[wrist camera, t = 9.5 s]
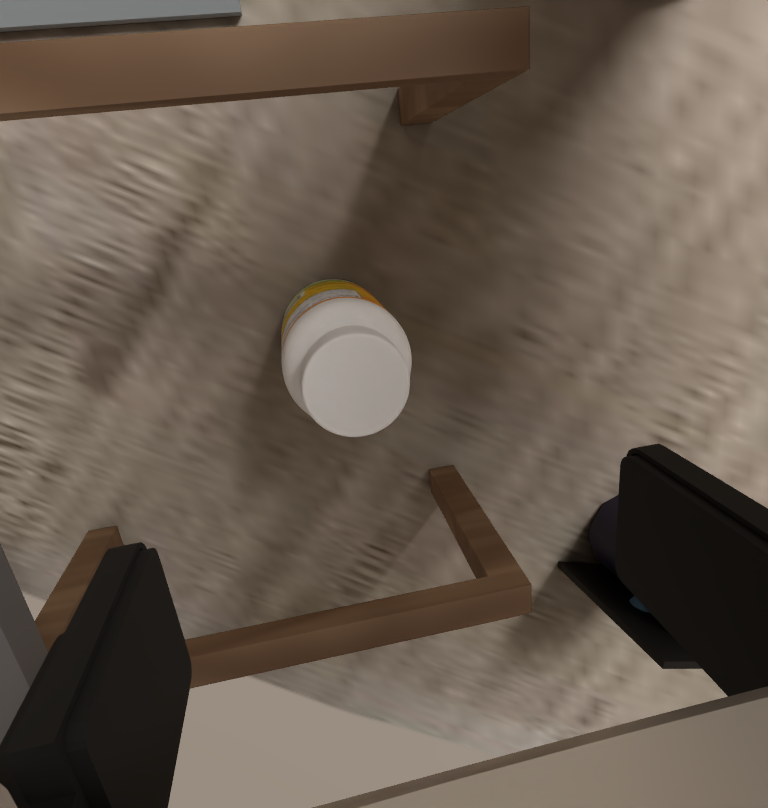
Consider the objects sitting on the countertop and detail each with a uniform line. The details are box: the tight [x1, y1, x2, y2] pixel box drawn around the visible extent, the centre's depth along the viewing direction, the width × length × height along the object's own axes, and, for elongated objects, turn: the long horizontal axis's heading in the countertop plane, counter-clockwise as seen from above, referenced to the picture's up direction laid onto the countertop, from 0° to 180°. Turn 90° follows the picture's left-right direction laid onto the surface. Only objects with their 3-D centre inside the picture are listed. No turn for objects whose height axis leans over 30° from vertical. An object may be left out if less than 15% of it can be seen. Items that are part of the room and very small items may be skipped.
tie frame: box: [0, 6, 532, 688], centre depth 22 cm, size 22×21×11 cm
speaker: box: [557, 495, 702, 669], centre depth 32 cm, size 8×6×10 cm
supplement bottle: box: [281, 279, 412, 437], centre depth 24 cm, size 5×5×10 cm
